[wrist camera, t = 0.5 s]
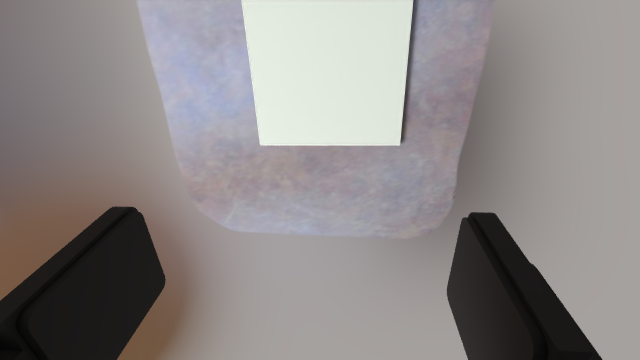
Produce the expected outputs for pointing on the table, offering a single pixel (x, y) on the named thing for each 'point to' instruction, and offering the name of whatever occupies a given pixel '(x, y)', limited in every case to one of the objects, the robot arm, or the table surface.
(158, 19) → the table surface
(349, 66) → the mat
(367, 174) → the table surface
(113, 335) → the robot arm
